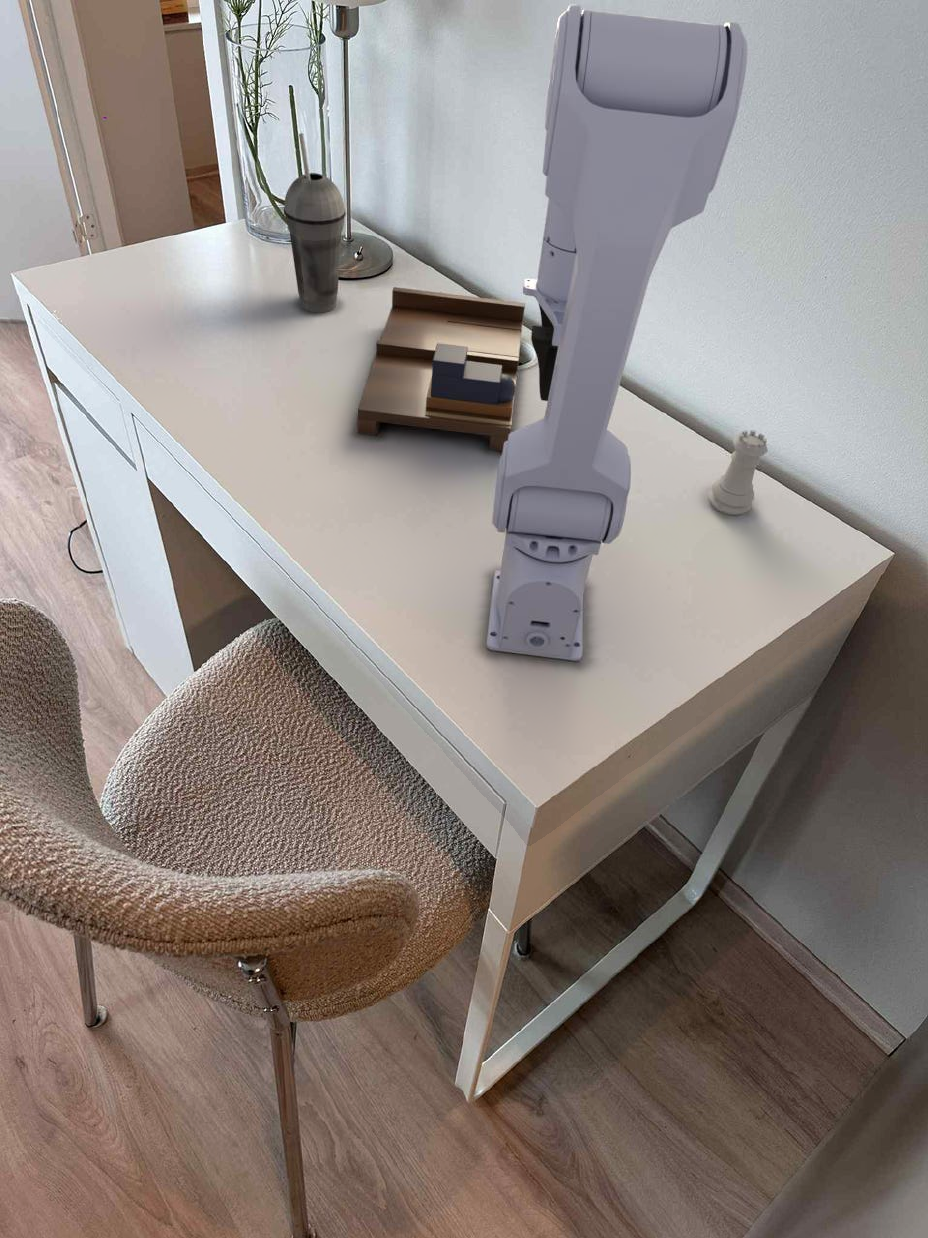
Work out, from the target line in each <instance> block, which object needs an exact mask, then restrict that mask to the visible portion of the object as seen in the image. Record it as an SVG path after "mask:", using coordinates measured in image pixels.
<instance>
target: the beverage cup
mask: <svg viewBox="0 0 928 1238" xmlns="http://www.w3.org/2000/svg"><path fill="white" fill-rule="evenodd" d="M304 135H305V134H304V133H303V132H300V133H299V134H298V138H299V144H300V150H301V157H302V163H303V170H304V174H302V175H300V176H298V177H296V179H294V180H293V181H292V182H291V184H290V186H289V187H288V189H287V191H286V194H285V196H284V207H283V215H284V216H285V222H286V226H287V230H288V232H289V238H290V244H291V251H292V258H293V266H294V272H295V279H296V287H297V293H298V296H299V303H300V307H301V308H302V309H303V310H305V311H306V312H310V313H316V314H319V313H320V314H321V313H328V312H331V311H333V310H335V309H336V306H337V299H338V294H339V293H338V292H339V280H340V279H339V277H340V263H341V262H340V260H341V250H342V249H341V247H342V234H343V231H344V225H345V217H346V215H347V212H346V209H345V203H344V199H343V196H342V194H341V190H339V187H338V186H337V185H336V184H335V182H333V180H331V179H330V178H329V177H328V176H325V175H324V174H320V173H316V172H310V168H309V167H310V166H309V161H308V155H307V147H306V143H305V136H304Z"/></svg>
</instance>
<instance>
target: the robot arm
mask: <svg viewBox="0 0 928 1238" xmlns="http://www.w3.org/2000/svg"><path fill="white" fill-rule="evenodd" d="M747 62H748V43H747V39H746V37H745V35H744V33H743V31H742V27H741V26H740V24H739V23H737V22H725V23H724V24H716V23H715V24H714V23H706V22H697V21H690V20H689V21H688V20H682V19H681V20H680V19H673V18H662V17H653V16H645V15H644V16H643V15H635V14H627V13H618V12H610V11H600V10H591V9H583V10H582V9H581V5H578V4H572V3H571V4H569V6H568V7H567V10H565V11H564V12H563V13H562V14H561V15H559V17H558V20H557V24H556V31H555V37H554V43H553V50H552V59H551V65H550V74H549V81H548V89H547V99H546V107H545V108H546V109H545V119H544V120H545V122H544V129H545V130H546V131H545V141H544V143H545V144H544V152H543V163H542V174H543V175H544V177H546V179H545V189H544V194H545V196H546V197H547V198H548V202H547V209H546V215H545V223H544V229H543V235H542V244H541V251H540V257H539V266H538V270H537V271H538V272H537V278H525V279H524V280H523V285H522V294H523V295H524V296H529V297H534V298H535V300H536V302H537V303H538V307H539V313H540V319H541V320H540V321H541V325H540V326H539V325H532V326H531V336H530V339H531V344H532V348H533V350H534V352H535V355H536V358H537V364H538V372H539V373H538V375H539V376H538V382H539V383H538V384H539V386H538V387H539V397H540V401H545V402H547V403H546V407H545V413H544V417H542V418H541V419H539V420H537V421H535V422H532V423H529V424H527V425H524V426H522V427H520V428H518V429H516V430H514V431H511V432H510V434H509V435H508V441H506V442H504V446H503V452H501V456H500V457H499V459H498V465H497V473H496V480H495V489H494V497H493V498H494V499H493V511H492V520H491V521H492V522H491V523H492V525H493V526H494V527H495V528H496V531H497V532H498V533H503V534H504V533H505V537H504V544H503V551H502V558H501V565H500V569H498V570H495V571H494V574H493V583H492V590H491V591H492V592H491V599H490V609H489V617H488V618H489V619H488V626H487V634H486V635H487V636H486V648H487V649H489V650H490V651H497V652H503V653H504V652H505V653H510V654H511V653H512V654H521V655H527V656H536V657H543V658H551V659H559V660H565V661H566V660H567V661H573V662H579V661H581V660H582V658H583V648H584V647H583V645H584V643H583V641H584V639H583V635H584V633H583V632H584V631H583V630H584V627H583V626H584V619H583V618H584V592H585V589H586V585H587V580H588V577H589V572H590V569H591V568H590V567H591V565H592V559H593V556H598V555H599V552H600V549H601V544H604V545H605V544H607V545H610V544H612V543H613V542H614V541H615V540H616V539H617V538H618V537H619V536H620V534H621V532H622V528H623V525H624V521H625V518H626V517H625V516H626V512H627V506H628V505H627V504H628V497H629V493H630V489H631V481H632V465H631V464H632V463H631V457H630V454H629V450H628V447H627V445H626V444H625V443H623V441H622V440H620V439H619V438H618V437H617V436H616V435H614V434H613V433H612V432H610V431H609V430H608V428H609V424H610V420H611V418H612V417H611V416H612V413H613V409H614V406H615V402H616V399H617V395H618V392H619V388H620V384H621V381H622V377H623V375H624V374H623V373H624V369H625V367H626V363H627V360H628V356H629V352H630V349H631V345H632V341H633V338H634V335H635V331H636V328H637V325H638V322H639V321H638V320H639V317H640V314H641V309H642V306H643V303H644V300H645V295H646V292H647V289H648V284H649V282H650V278H651V276H652V273H653V271H654V268H655V266H656V264H657V262H658V259H659V258H660V254H661V252H662V251H663V248H664V245H665V243H666V241H667V238H668V237H669V234H670V233H671V230H672V229H673V228H675V227H677V226H679V225H681V224H683V223H685V222H687V221H689V220H690V219H692V218H694V217H696V216H698V215H700V214H702V213H703V212H704V210H705V208H706V205H707V201H708V198H709V195H710V193H712V192H713V190H714V188H715V187H716V184H717V181H718V177H719V175H720V171H721V167H722V164H723V162H724V159H725V155H726V152H727V149H728V146H729V143H730V140H731V138H732V137H731V136H732V135H733V134H732V133H733V131H734V128H735V124H736V121H737V118H738V113H739V110H740V109H739V108H740V103H741V99H742V94H743V89H744V84H745V79H746V72H747Z"/></svg>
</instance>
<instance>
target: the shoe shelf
mask: <svg viewBox="0 0 928 1238" xmlns="http://www.w3.org/2000/svg"><path fill="white" fill-rule="evenodd" d="M391 291H392V292H391V293H392V294H391V308H390V310H389V313H388V317H387V320H386V322H385V326H384V329H383V332H382V335H381V338H380V340H379V339H377V341H376V344H375V349H376V350H375V352H376V353H375V355H374V359H373V362H372V365H371V368H370V370H369V374H368V376H367V380H366V383H365V385H364V386H365V387H364V389H363V392H362V394H361V397H360V401H359V403H358V407H357V412H356V413H357V418H356V419H357V434H358V435H363V436H364V435H365V436H372V437H373V436H374V437H376V436H377V435H378V431H379V428H380V425H381V423H386V424H392V425H394V424H395V425H401V426H410V427H417V428H424V429H434V430H440V431H448V432H458V433H466V434H473V435H482V436H489V437H490V439H489V444H488V445H489V446H488V450H489V451H493V452H501V453H502V452H503V446H504V442H506V441H508V435H509V434H510V433H511V432H512V424H513V423H512V422H513V415H514V408H513V409H512V416H511V418H509V417H501V416H493V415H485V414H477V413H469V412H461V411H453V410H445V409H437V408H429V407H426V399H427V394H428V389H429V385H430V381H431V378H432V367H433V358H434V354H435V350H436V346H437V343H441V344H449V345H457V346H465V347H468V349H467V360H466V361H472V362H480V363H488V364H496V365H502V374H506V375H508V376H510V377H511V378H512V379H513V381H514V383H515V386H516V387H517V377H518V369H519V363H520V350H521V342H522V333H523V322H524V316H525V308H526V303H525V302H519V301H511V300H502V299H494V298H487V297H486V298H485V297H478V296H469V295H463V294H454V293H445V292H437V291H429V290H420V289H412V288H405V287H396V286H393V288H392V290H391ZM515 397H516V394H515V395H514V398H515ZM514 404H515V399H514V400H513V407H514V406H515V405H514Z"/></svg>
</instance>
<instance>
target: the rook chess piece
mask: <svg viewBox="0 0 928 1238" xmlns="http://www.w3.org/2000/svg"><path fill="white" fill-rule="evenodd" d="M756 432H757V430H753V429H751V430H750V431H749V433H748V430H745V429H744V430H743V431H742V432H741V433H740V434H739V436H737V437H736V438H735V439H734V440H733V447H734V449H735V450H734V451H733V452H732V453H731V455H730V457H731V461H730V463H729V465H728V467H727V469H726V470H725V472H724V474H722V475H721V476H720V477H719V478H718V479H716V480H715V481H714V483H713V484H712V485H711V490H710V491H708V499H709V502H710V504H711V505H712V507H713V508H714V509H715V510H717V511H718V512H720V513H722V514H725V515H729V516H739V515H742V514H745V513H747V512H749V511H750V510H751V508H752V507H753V501H754V500H755V490H754V484H753V479H754V475H755V472H756V469H757V467H758V466H759V465H760V464H761V460H760V458H761V457H762V456H764V455H766V453H767V452H768V447H767V438H765V435H764V434H763V433H762V432H761V433H759V434H758V435H756Z"/></svg>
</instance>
